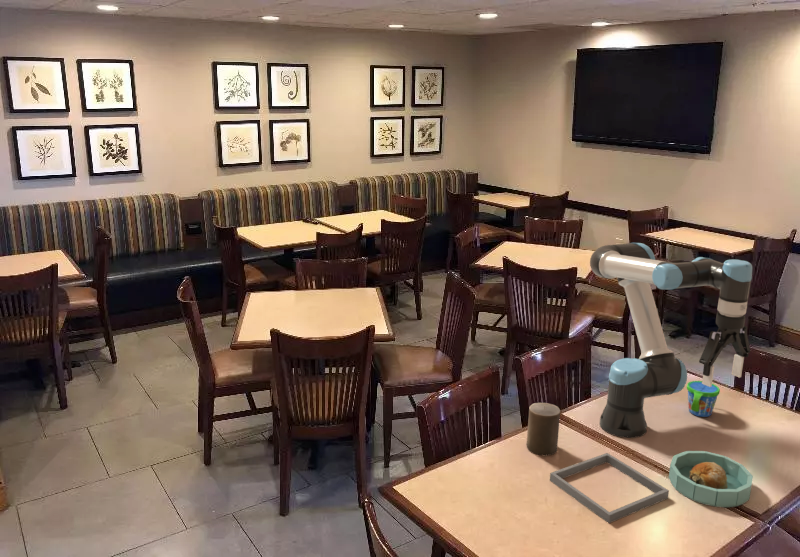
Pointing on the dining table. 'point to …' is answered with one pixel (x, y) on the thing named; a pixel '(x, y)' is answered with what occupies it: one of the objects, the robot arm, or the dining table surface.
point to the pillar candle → (543, 428)
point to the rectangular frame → (608, 516)
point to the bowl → (730, 497)
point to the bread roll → (709, 475)
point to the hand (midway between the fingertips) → (721, 380)
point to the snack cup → (701, 398)
